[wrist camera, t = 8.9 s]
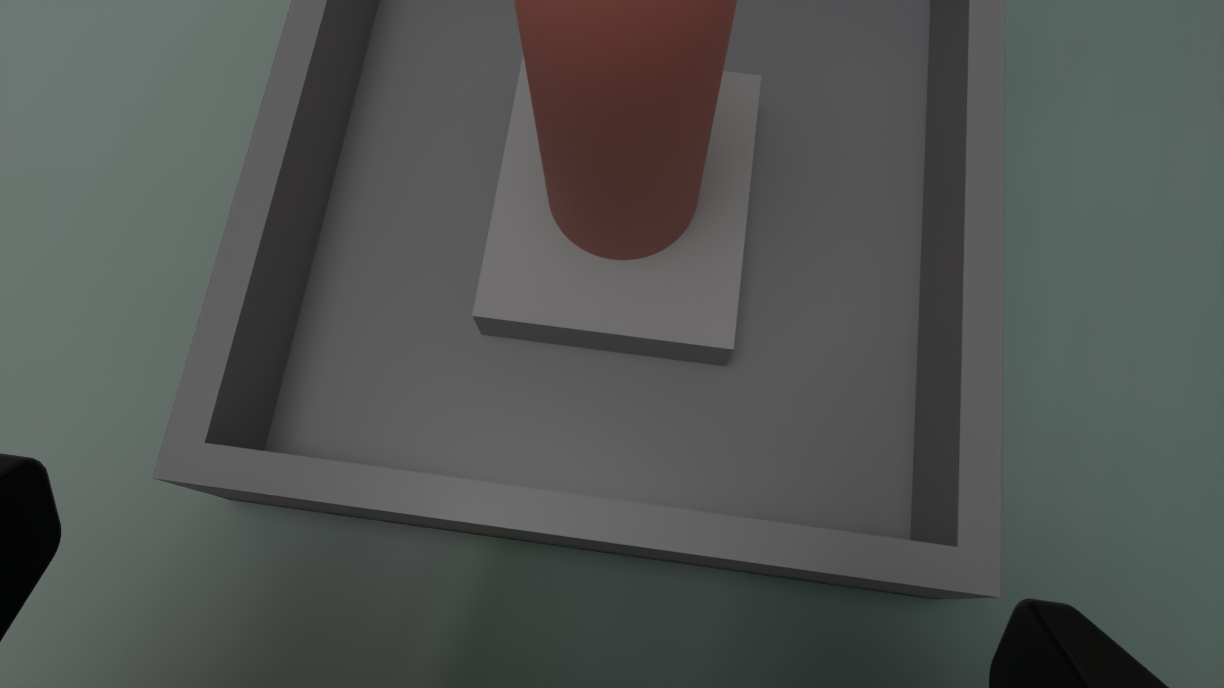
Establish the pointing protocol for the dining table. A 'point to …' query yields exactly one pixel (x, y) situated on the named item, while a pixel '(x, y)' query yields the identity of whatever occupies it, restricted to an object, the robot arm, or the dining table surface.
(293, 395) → the bin
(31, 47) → the dining table surface
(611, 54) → the red post on base
